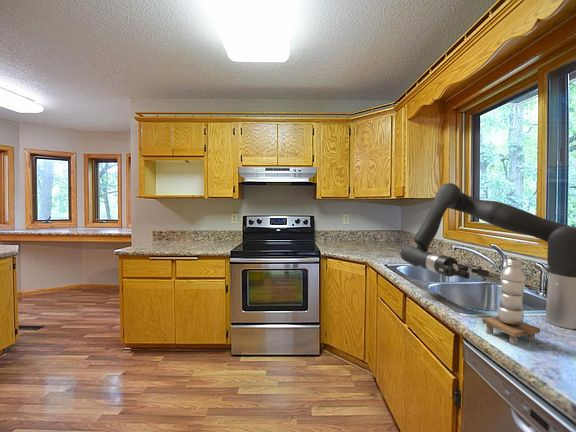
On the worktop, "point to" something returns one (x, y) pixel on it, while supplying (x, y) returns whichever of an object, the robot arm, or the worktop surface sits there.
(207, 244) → the worktop surface
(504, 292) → the plastic bottle
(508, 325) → the pegged shelf
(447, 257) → the robot arm
